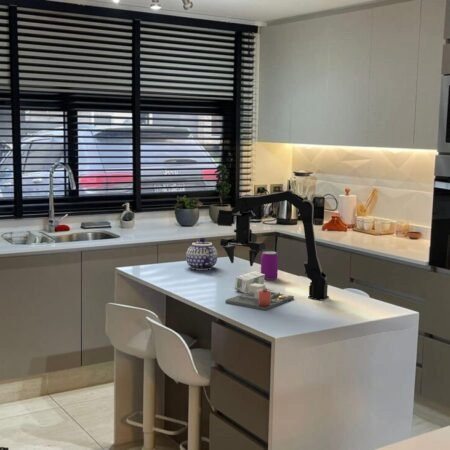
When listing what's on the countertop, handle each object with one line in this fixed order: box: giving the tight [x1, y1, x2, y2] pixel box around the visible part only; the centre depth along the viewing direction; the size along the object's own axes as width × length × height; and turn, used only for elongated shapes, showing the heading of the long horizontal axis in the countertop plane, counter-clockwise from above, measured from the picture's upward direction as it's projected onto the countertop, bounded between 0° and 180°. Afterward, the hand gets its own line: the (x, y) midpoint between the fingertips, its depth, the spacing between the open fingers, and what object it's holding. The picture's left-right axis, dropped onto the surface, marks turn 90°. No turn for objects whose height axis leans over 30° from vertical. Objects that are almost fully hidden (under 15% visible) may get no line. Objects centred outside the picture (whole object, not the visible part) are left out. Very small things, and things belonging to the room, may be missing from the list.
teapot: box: [185, 237, 218, 271], centre depth 336 cm, size 25×15×15 cm, turn 20°
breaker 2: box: [254, 289, 272, 299], centre depth 274 cm, size 5×4×4 cm
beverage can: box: [260, 250, 279, 281], centre depth 316 cm, size 8×8×12 cm
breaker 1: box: [249, 283, 266, 293], centre depth 284 cm, size 5×4×4 cm
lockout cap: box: [259, 288, 272, 306], centre depth 267 cm, size 4×4×6 cm
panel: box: [225, 291, 295, 311], centre depth 277 cm, size 18×22×2 cm
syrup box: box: [234, 270, 265, 294], centre depth 296 cm, size 6×6×14 cm
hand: (241, 264), depth 288 cm, fingers open, 9 cm apart
